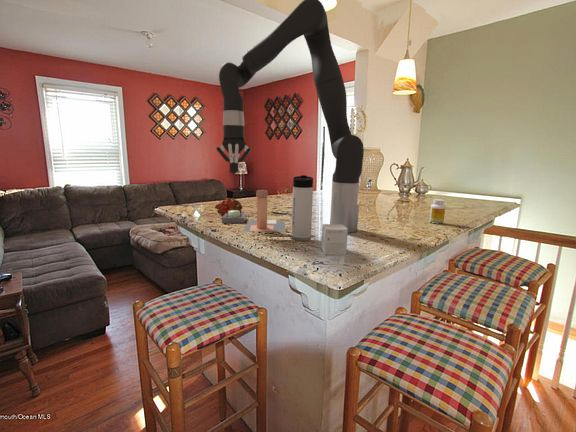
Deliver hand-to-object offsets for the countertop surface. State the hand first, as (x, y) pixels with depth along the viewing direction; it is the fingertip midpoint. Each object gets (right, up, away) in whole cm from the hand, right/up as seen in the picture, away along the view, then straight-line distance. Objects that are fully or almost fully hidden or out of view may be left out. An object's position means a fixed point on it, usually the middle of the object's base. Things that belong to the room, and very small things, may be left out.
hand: (234, 173), depth 114 cm
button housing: (-1, -19, +4) cm, 19 cm away
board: (+12, -20, -3) cm, 23 cm away
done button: (-1, -18, +3) cm, 18 cm away
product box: (+33, -26, -27) cm, 50 cm away
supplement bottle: (+81, -19, +13) cm, 84 cm away
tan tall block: (+11, -20, -7) cm, 24 cm away
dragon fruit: (-5, -16, +16) cm, 24 cm away
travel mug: (+24, -23, -15) cm, 37 cm away
